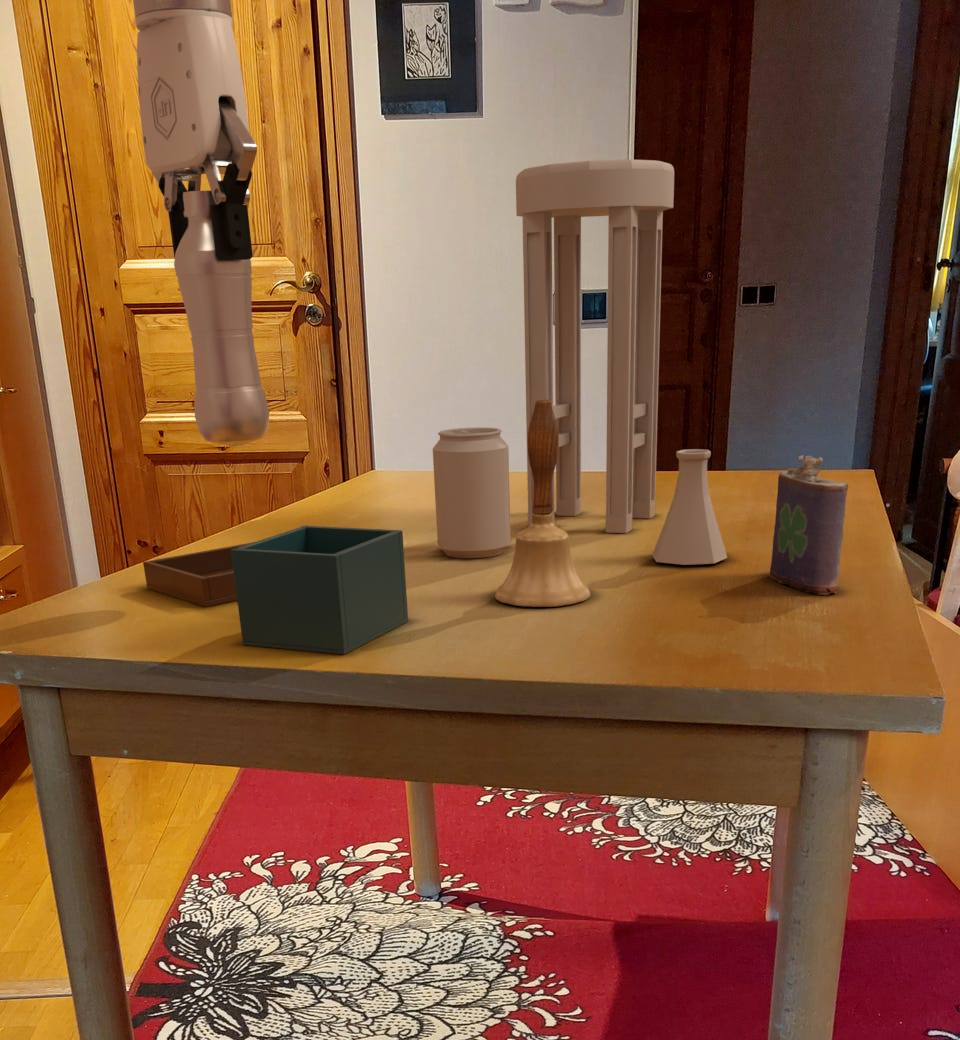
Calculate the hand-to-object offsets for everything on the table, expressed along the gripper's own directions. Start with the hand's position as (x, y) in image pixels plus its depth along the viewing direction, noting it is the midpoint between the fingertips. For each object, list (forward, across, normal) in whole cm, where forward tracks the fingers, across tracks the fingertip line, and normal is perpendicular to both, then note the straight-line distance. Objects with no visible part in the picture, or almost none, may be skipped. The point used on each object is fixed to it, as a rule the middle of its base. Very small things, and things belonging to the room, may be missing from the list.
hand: (213, 259), depth 99 cm
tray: (+27, 0, 0) cm, 27 cm away
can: (+28, +6, +22) cm, 36 cm away
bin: (+27, +21, -6) cm, 35 cm away
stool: (+28, +4, +42) cm, 51 cm away
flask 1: (+28, +26, +33) cm, 50 cm away
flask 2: (+28, +40, +31) cm, 58 cm away
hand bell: (+28, +26, +14) cm, 40 cm away
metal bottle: (+15, 0, 0) cm, 15 cm away
